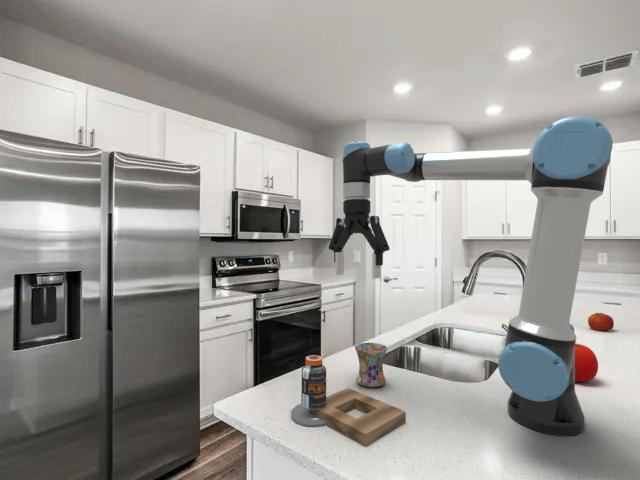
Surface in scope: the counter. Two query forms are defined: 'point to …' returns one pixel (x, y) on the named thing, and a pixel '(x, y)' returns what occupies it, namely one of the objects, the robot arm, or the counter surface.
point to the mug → (371, 364)
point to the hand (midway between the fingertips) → (357, 276)
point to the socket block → (365, 427)
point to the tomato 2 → (600, 322)
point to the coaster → (306, 417)
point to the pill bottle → (313, 383)
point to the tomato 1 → (585, 363)
